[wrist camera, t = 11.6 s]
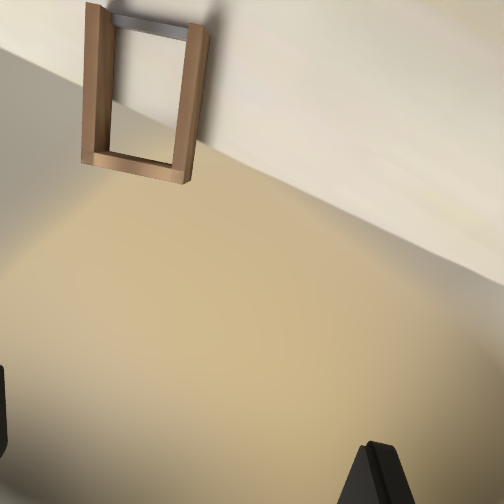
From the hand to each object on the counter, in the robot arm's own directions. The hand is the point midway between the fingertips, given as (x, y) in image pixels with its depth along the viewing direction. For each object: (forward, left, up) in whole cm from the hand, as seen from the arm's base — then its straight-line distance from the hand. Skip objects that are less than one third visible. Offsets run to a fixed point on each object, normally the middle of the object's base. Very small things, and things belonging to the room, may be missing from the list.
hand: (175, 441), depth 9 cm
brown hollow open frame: (+12, -8, -28) cm, 32 cm away
